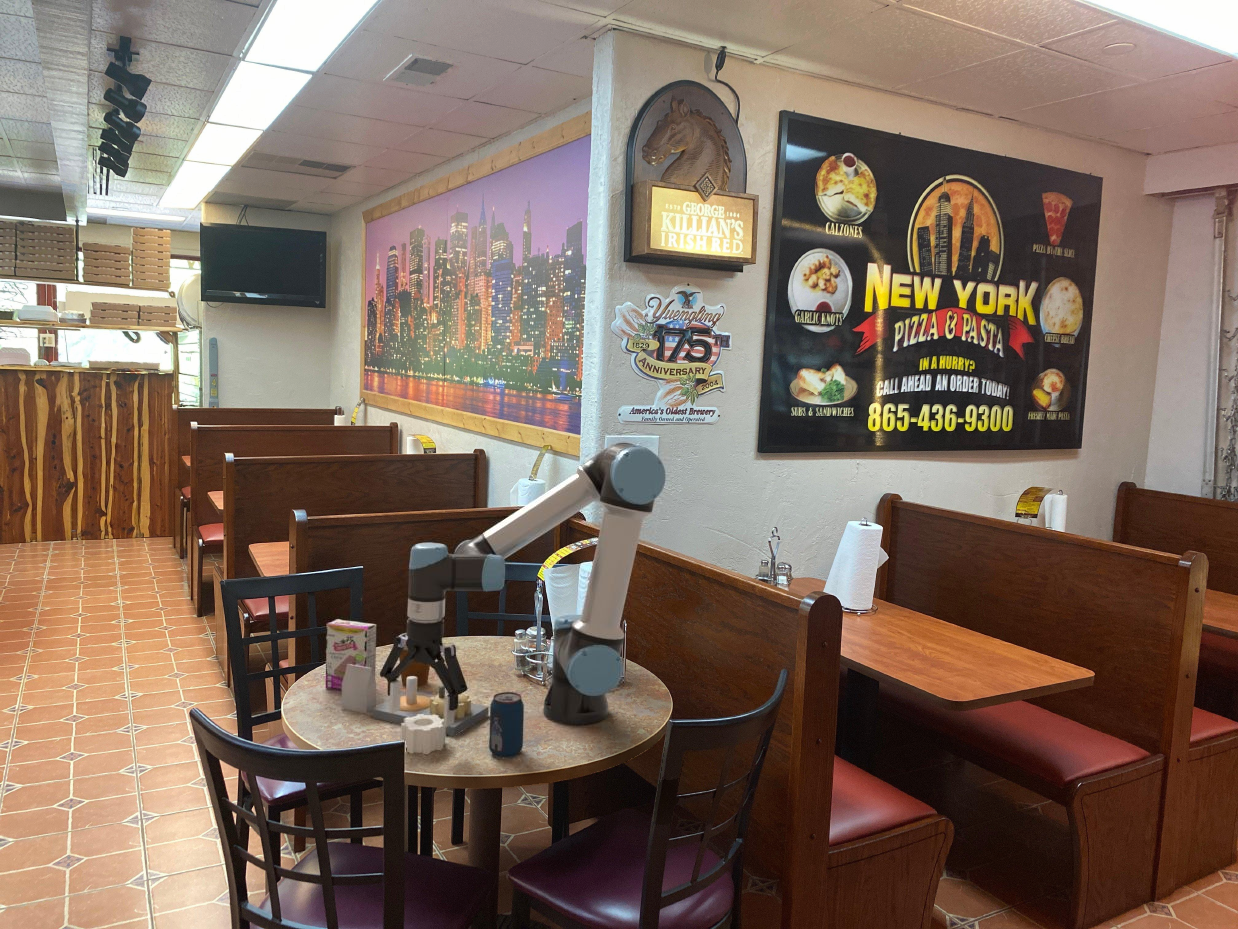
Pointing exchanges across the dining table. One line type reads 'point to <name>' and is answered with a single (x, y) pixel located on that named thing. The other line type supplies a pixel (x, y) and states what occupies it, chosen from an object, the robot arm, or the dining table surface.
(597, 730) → the dining table surface
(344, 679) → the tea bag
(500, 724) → the soda can
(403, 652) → the disposable coffee cup
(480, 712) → the gear board
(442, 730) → the loose gear
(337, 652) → the candy bar box
